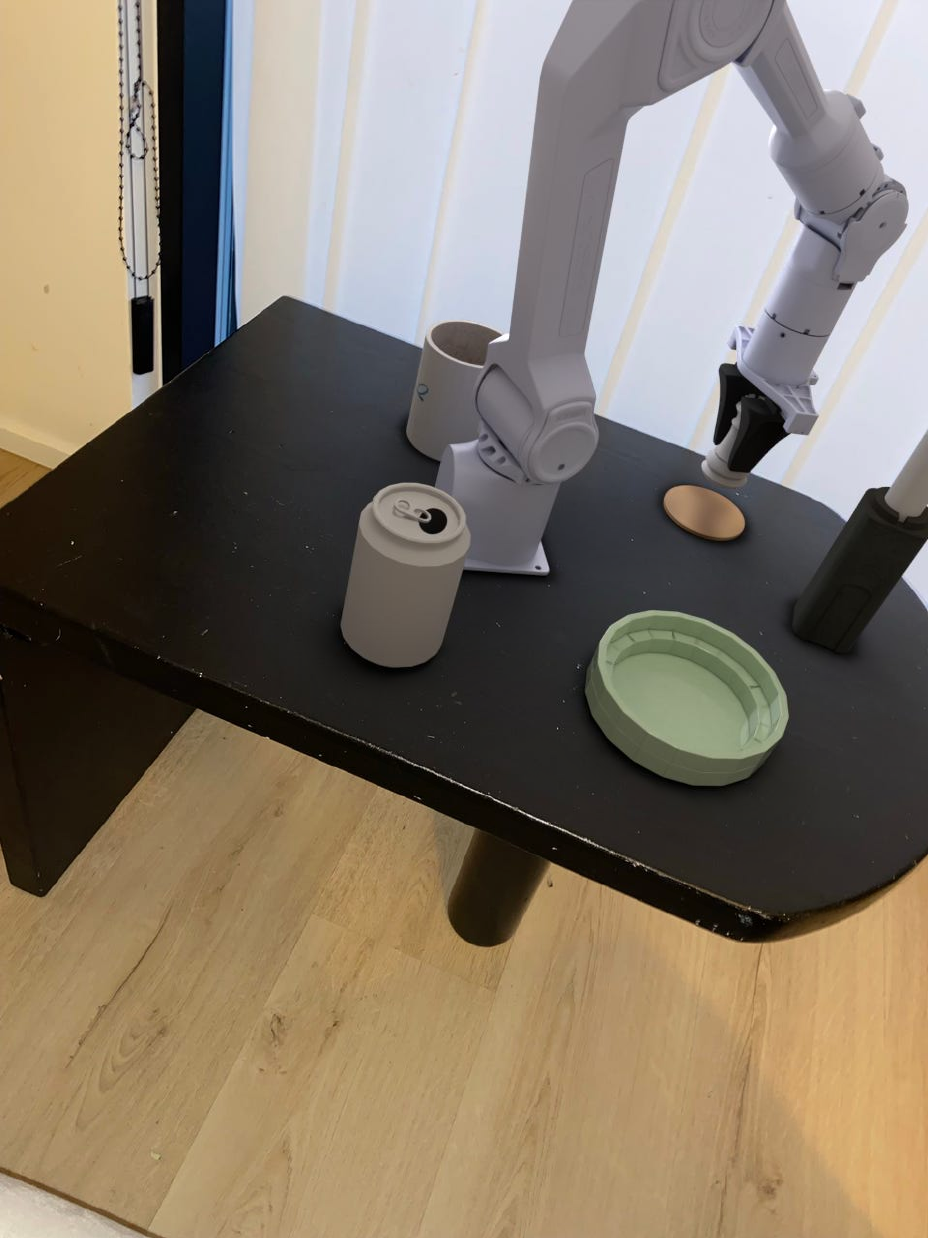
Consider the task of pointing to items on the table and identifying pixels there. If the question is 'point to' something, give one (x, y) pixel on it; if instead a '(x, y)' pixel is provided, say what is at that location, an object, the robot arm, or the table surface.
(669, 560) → the table surface
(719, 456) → the rook chess piece
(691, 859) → the table surface
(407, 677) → the table surface
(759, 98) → the robot arm
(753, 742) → the dish
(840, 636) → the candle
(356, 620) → the can
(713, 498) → the coaster
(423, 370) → the mug
